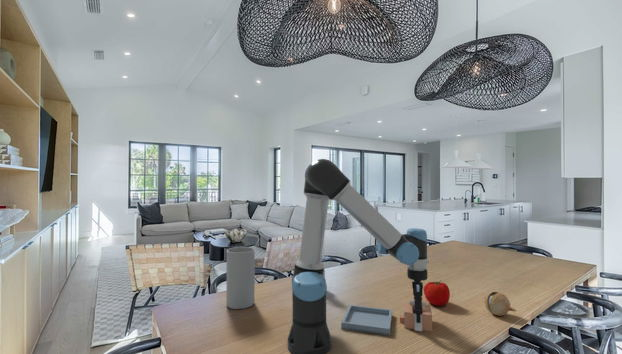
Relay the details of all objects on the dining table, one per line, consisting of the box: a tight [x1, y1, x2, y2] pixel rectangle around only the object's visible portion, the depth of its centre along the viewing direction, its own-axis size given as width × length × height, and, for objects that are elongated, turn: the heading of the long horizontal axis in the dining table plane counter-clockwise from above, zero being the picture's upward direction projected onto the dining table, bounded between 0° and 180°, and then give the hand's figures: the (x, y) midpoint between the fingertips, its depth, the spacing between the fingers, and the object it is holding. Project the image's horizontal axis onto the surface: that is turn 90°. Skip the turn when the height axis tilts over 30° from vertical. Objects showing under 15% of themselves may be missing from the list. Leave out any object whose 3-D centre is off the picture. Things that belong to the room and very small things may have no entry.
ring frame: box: [399, 301, 433, 332], centre depth 123 cm, size 10×12×6 cm
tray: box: [340, 304, 393, 336], centre depth 125 cm, size 18×18×2 cm
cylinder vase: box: [225, 246, 255, 310], centre depth 143 cm, size 12×12×25 cm
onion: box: [484, 291, 517, 317], centre depth 131 cm, size 9×9×15 cm
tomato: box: [423, 279, 451, 307], centre depth 143 cm, size 11×13×10 cm
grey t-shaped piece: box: [409, 300, 427, 311], centre depth 123 cm, size 3×6×8 cm, turn 73°
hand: (417, 323), depth 123 cm, fingers open, 12 cm apart
